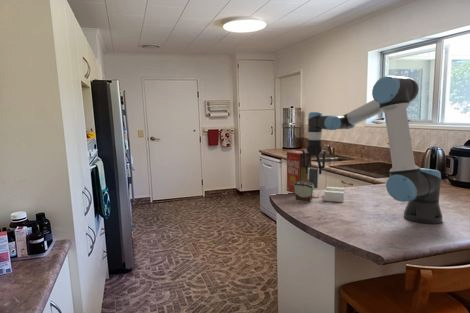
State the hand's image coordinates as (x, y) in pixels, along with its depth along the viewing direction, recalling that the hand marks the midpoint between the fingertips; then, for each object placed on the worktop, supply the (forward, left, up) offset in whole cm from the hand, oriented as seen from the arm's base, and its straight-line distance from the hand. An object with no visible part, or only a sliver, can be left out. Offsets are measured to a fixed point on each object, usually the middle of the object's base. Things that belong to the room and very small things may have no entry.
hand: (313, 179), depth 185 cm
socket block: (-1, -12, -10) cm, 16 cm away
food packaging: (+8, +10, -10) cm, 16 cm away
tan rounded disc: (0, 0, -10) cm, 10 cm away
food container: (-10, +3, -10) cm, 15 cm away
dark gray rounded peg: (0, 0, -5) cm, 5 cm away
